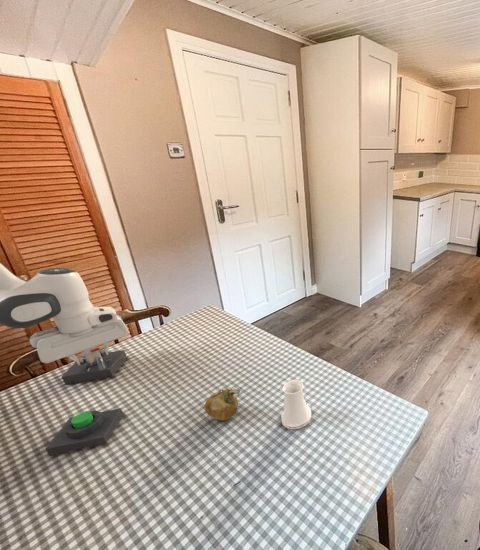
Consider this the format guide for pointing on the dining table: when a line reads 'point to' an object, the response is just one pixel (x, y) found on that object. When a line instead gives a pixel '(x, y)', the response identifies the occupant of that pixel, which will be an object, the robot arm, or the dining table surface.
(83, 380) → the dial panel
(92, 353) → the program dial
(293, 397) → the vase
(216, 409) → the onion
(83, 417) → the button
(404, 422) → the dining table surface
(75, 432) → the block
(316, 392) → the dining table surface
